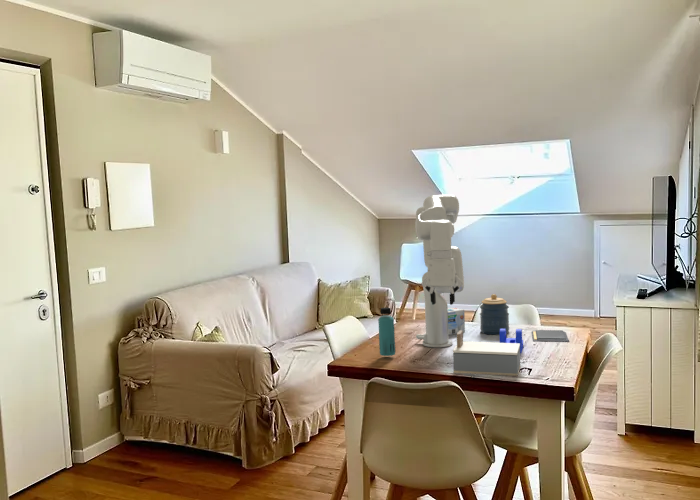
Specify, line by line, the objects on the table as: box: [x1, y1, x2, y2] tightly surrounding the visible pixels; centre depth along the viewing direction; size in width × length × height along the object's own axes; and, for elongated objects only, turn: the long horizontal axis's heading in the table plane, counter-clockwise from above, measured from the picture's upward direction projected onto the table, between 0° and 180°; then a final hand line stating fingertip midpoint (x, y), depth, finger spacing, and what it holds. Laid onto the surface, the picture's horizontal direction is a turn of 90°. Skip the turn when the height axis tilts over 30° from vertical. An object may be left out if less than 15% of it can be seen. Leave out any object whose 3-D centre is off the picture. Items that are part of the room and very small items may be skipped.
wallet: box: [530, 329, 570, 343], centre depth 263 cm, size 20×2×15 cm
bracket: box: [498, 328, 524, 354], centre depth 247 cm, size 18×8×9 cm, turn 161°
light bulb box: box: [448, 307, 466, 336], centre depth 279 cm, size 11×7×11 cm, turn 119°
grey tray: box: [452, 347, 521, 377], centre depth 217 cm, size 22×14×7 cm, turn 70°
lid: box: [452, 331, 520, 355], centre depth 216 cm, size 22×14×6 cm, turn 70°
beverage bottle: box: [377, 307, 396, 357], centre depth 238 cm, size 6×7×20 cm
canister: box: [479, 293, 510, 336], centre depth 276 cm, size 13×13×18 cm
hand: (442, 303), depth 221 cm, fingers open, 5 cm apart
